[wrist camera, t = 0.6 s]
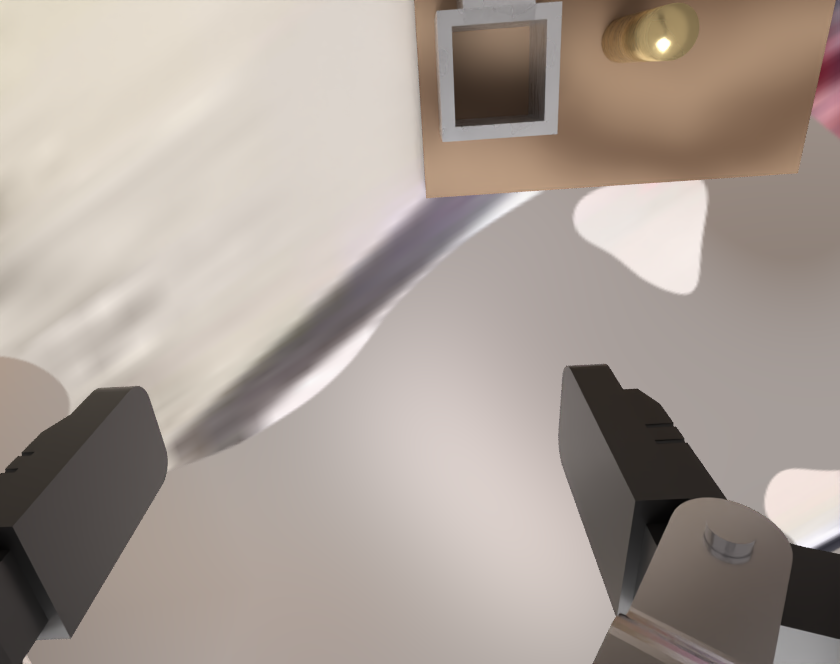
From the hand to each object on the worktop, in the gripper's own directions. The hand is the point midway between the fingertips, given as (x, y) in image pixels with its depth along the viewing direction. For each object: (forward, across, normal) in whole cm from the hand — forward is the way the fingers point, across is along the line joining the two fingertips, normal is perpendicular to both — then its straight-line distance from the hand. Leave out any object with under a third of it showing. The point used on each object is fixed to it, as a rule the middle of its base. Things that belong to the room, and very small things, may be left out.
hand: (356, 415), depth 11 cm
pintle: (+22, -12, -6) cm, 25 cm away
